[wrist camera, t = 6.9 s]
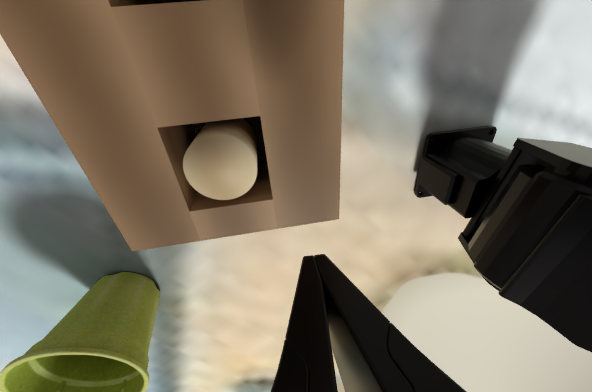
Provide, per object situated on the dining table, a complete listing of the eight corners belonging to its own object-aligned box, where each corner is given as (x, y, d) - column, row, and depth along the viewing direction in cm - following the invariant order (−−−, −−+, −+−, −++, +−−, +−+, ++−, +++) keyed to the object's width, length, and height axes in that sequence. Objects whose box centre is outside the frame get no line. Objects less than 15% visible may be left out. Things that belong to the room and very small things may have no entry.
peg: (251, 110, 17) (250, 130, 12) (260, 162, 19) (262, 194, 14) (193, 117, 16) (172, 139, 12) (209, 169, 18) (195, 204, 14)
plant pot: (90, 245, 22) (7, 342, 14) (191, 275, 26) (166, 365, 18) (66, 304, 25) (-13, 409, 18) (159, 323, 29) (126, 416, 21)
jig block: (308, -188, 11) (352, -384, 6) (319, 180, 22) (339, 219, 17) (-12, -187, 10) (-281, -431, 5) (162, 202, 21) (132, 251, 15)
